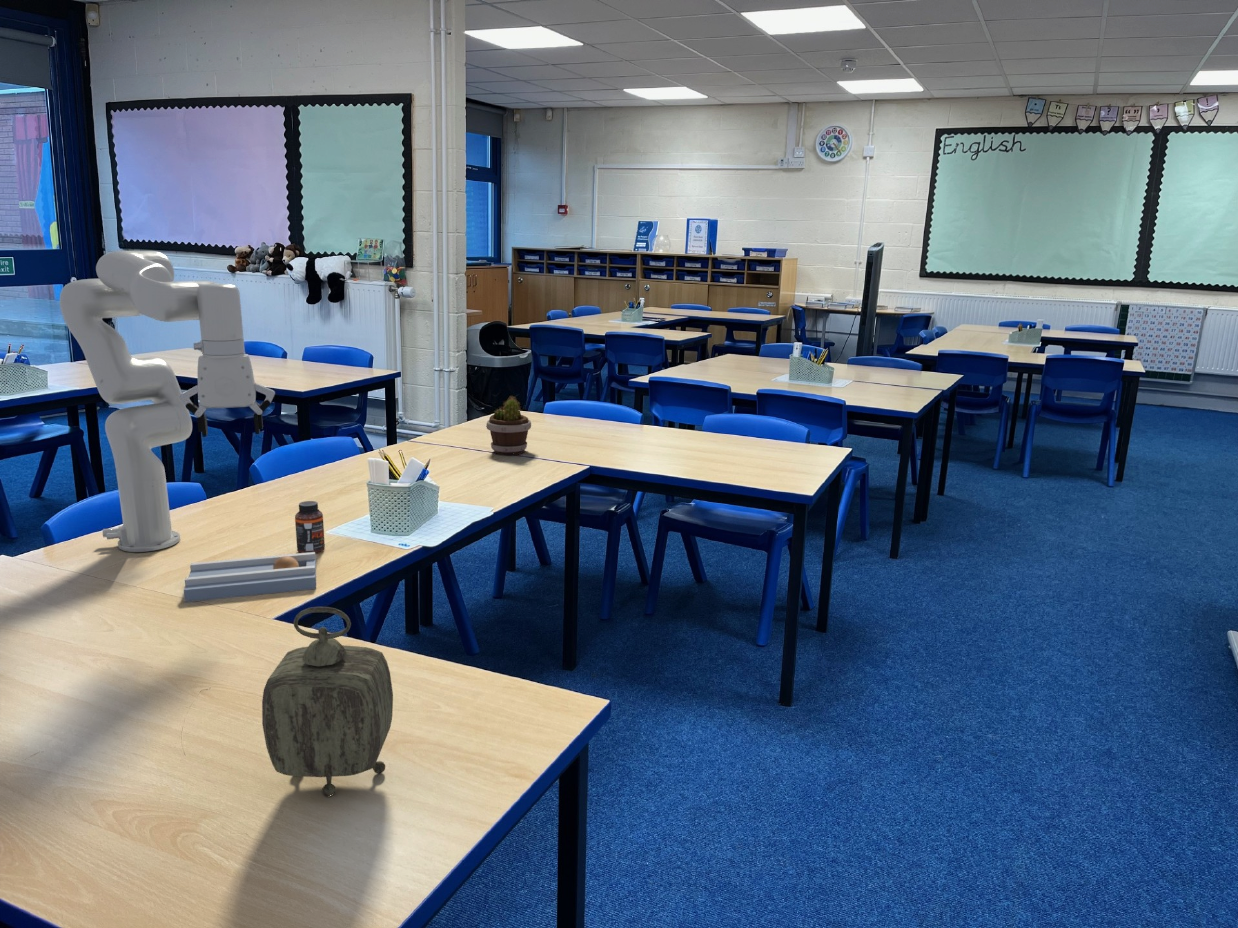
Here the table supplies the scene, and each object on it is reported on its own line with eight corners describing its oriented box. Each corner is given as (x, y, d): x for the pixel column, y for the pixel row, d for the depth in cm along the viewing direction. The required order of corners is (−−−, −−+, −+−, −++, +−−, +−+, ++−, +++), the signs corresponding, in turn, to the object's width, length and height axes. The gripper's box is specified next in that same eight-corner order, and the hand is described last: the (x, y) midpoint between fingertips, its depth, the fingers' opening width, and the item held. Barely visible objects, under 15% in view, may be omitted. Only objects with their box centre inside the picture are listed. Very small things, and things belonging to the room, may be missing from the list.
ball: (283, 588, 178) (267, 570, 176) (284, 580, 183) (268, 562, 181) (304, 574, 179) (288, 555, 177) (304, 565, 183) (288, 548, 182)
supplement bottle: (316, 556, 194) (312, 508, 191) (292, 554, 195) (288, 506, 192) (330, 547, 199) (327, 500, 196) (306, 545, 200) (302, 498, 198)
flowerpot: (482, 448, 295) (481, 389, 290) (527, 445, 300) (527, 388, 294) (489, 458, 282) (488, 397, 277) (536, 455, 286) (536, 395, 281)
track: (185, 602, 169) (182, 584, 168) (194, 575, 181) (192, 559, 181) (316, 588, 176) (314, 571, 175) (316, 564, 189) (314, 548, 188)
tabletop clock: (396, 765, 118) (387, 593, 112) (381, 807, 110) (370, 624, 103) (288, 765, 118) (273, 593, 111) (264, 808, 109) (246, 623, 103)
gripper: (171, 352, 164) (181, 440, 168) (270, 350, 169) (277, 436, 174) (177, 347, 171) (186, 432, 175) (272, 345, 176) (278, 428, 180)
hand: (231, 434), depth 174 cm, fingers open, 9 cm apart
